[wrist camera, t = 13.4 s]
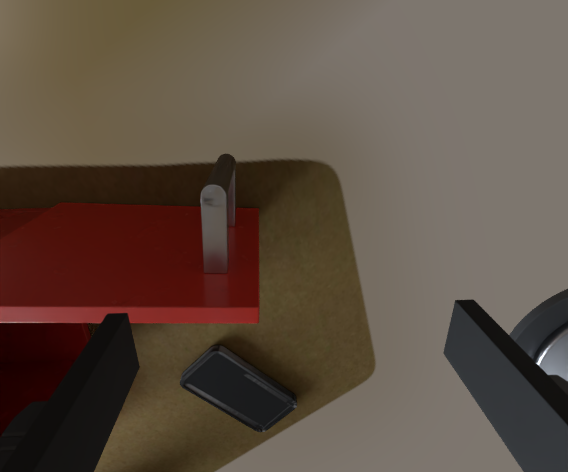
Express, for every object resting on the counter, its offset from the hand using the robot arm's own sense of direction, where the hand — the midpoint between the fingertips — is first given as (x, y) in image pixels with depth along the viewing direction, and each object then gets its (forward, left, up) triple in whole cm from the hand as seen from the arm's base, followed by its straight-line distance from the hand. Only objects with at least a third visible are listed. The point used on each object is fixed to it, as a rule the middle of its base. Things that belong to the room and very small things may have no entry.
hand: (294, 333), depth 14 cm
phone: (-3, +29, -24) cm, 37 cm away
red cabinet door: (+11, +3, -24) cm, 26 cm away
